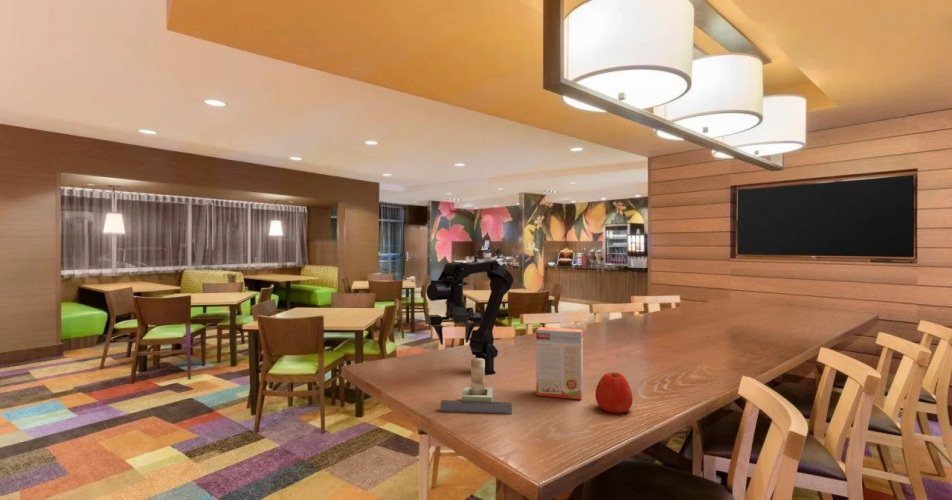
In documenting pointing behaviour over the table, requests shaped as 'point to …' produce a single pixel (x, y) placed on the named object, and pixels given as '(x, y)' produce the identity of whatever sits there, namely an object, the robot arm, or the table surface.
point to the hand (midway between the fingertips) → (454, 343)
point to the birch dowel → (477, 376)
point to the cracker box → (559, 362)
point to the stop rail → (476, 407)
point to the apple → (614, 393)
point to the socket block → (485, 398)
